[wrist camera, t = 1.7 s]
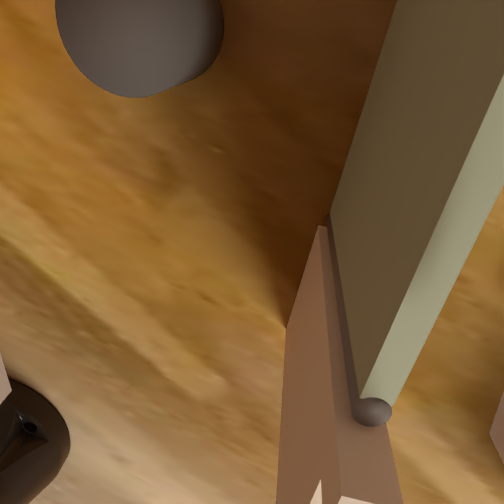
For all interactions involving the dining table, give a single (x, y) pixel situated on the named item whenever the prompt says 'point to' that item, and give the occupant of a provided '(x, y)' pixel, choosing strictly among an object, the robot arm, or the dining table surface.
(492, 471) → the dining table surface
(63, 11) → the dark brown cylinder
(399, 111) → the door
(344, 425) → the door frame
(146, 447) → the dining table surface
